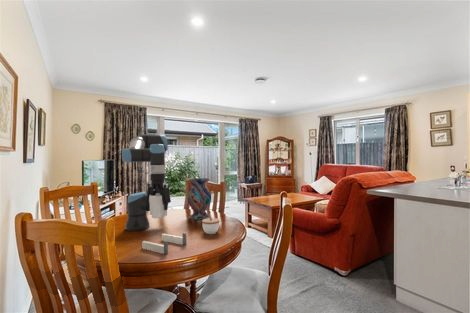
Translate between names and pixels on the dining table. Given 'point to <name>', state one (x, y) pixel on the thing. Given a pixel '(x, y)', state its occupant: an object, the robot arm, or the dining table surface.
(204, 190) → the vase
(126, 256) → the dining table surface
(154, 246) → the pair of white bars
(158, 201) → the cup
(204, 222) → the lidded jar
